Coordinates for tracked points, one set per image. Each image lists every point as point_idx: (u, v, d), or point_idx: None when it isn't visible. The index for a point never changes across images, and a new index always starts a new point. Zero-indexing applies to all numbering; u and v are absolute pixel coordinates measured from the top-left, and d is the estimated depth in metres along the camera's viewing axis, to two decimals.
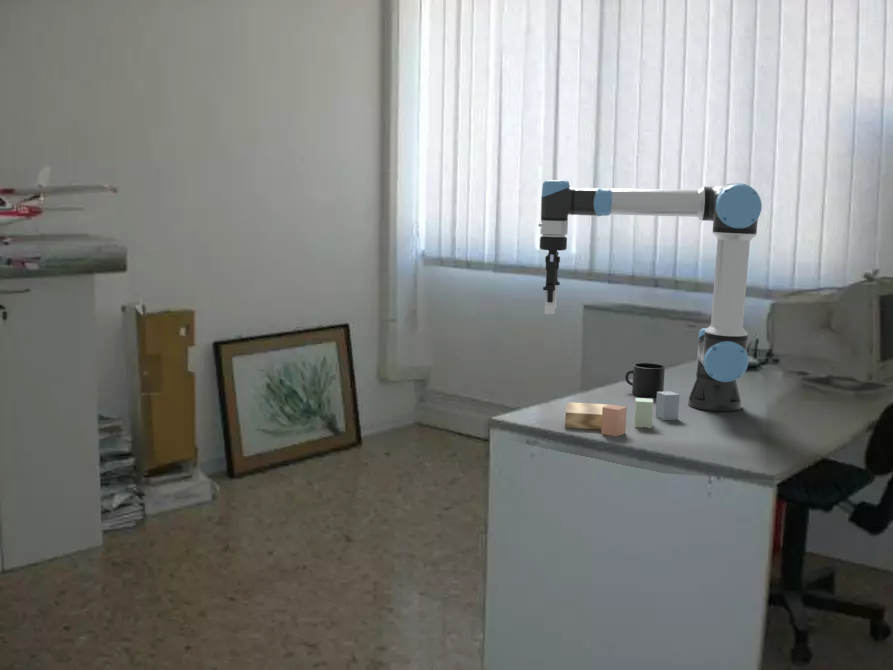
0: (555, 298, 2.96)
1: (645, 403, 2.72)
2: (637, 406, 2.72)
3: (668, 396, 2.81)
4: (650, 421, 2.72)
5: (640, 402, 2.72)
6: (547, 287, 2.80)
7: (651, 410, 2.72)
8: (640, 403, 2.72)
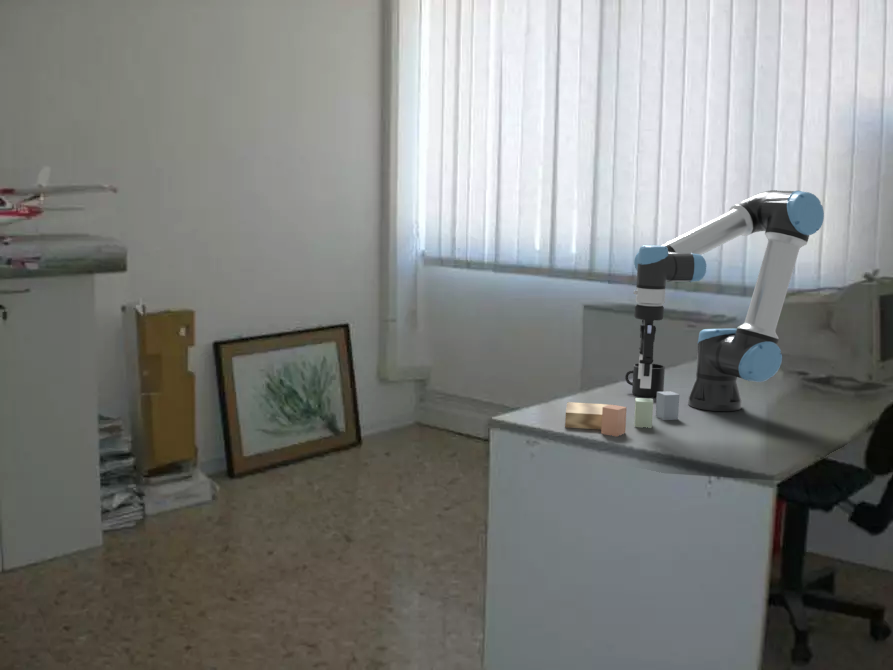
0: None
1: (645, 403, 2.72)
2: (637, 406, 2.72)
3: (668, 396, 2.81)
4: (650, 421, 2.72)
5: (640, 402, 2.72)
6: (645, 361, 2.62)
7: (651, 410, 2.72)
8: (640, 403, 2.72)
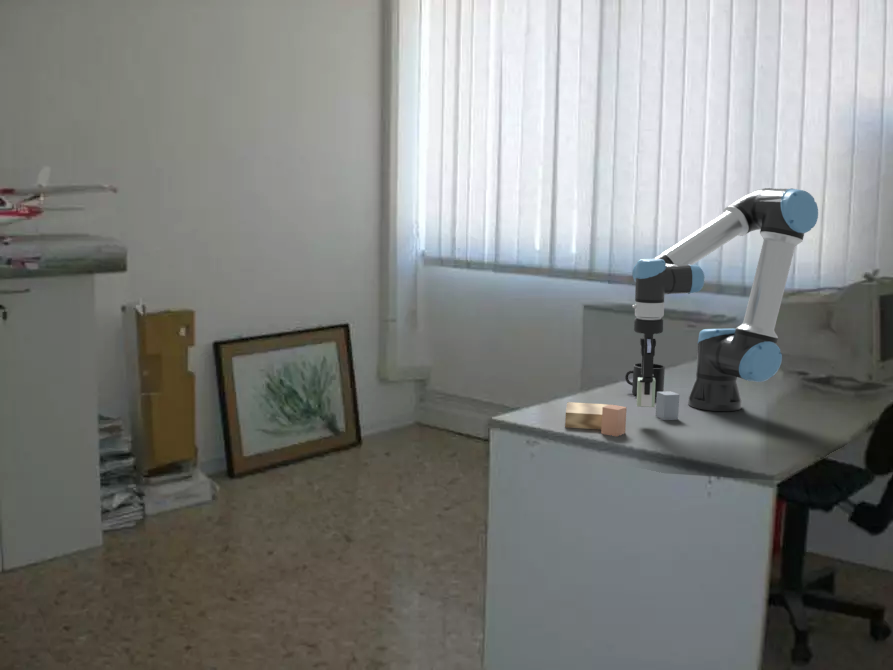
0: None
1: None
2: (639, 385, 2.72)
3: (668, 396, 2.81)
4: (653, 400, 2.72)
5: None
6: (645, 380, 2.68)
7: (653, 389, 2.71)
8: None
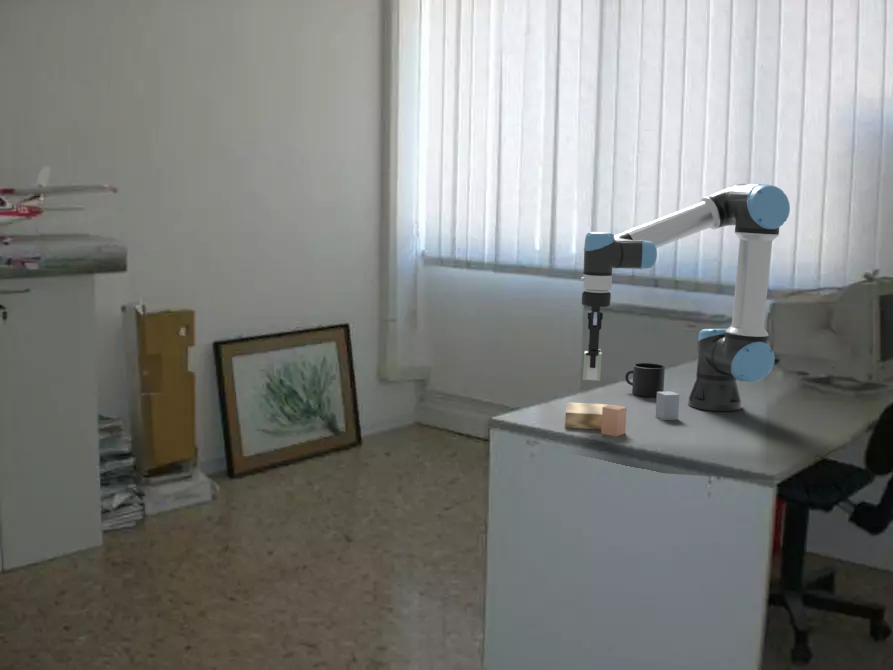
0: None
1: None
2: (585, 358, 2.71)
3: (668, 396, 2.81)
4: (598, 374, 2.71)
5: None
6: (590, 352, 2.67)
7: (599, 363, 2.71)
8: None
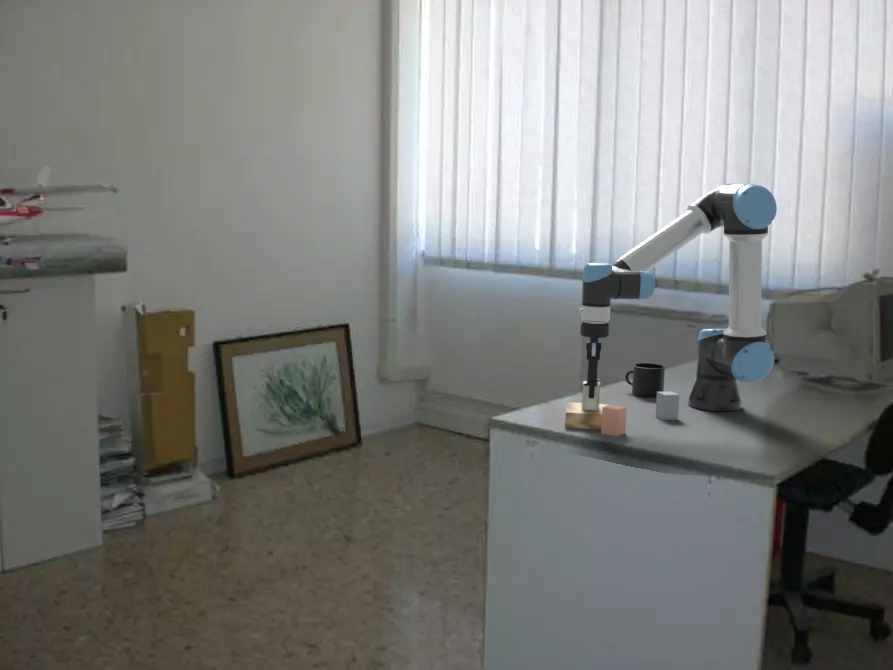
0: None
1: None
2: (584, 389, 2.73)
3: (668, 396, 2.81)
4: (597, 404, 2.73)
5: None
6: (589, 383, 2.69)
7: (598, 393, 2.72)
8: None
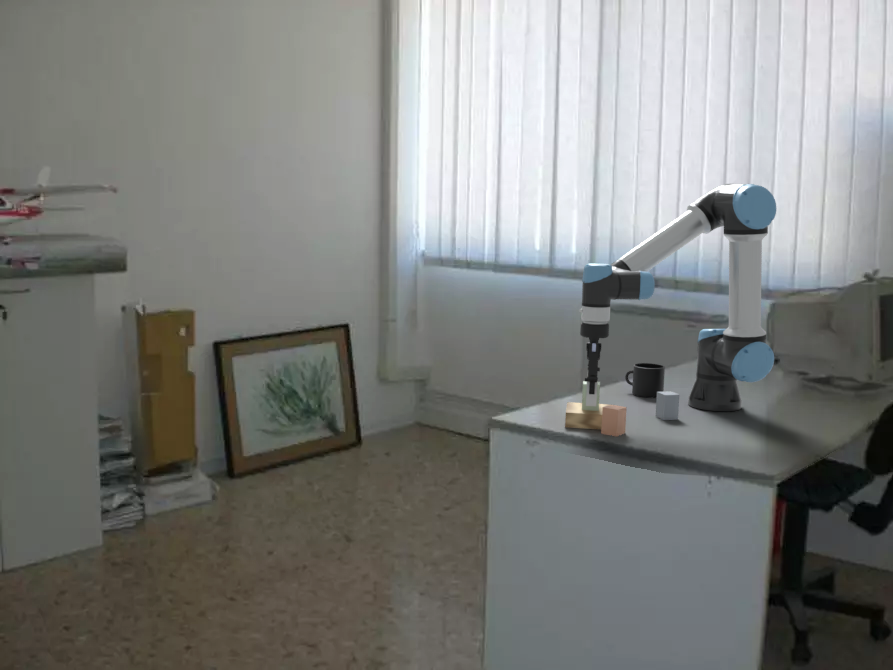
0: None
1: None
2: (584, 389, 2.73)
3: (668, 396, 2.81)
4: (597, 404, 2.73)
5: None
6: (589, 379, 2.64)
7: (598, 393, 2.72)
8: None
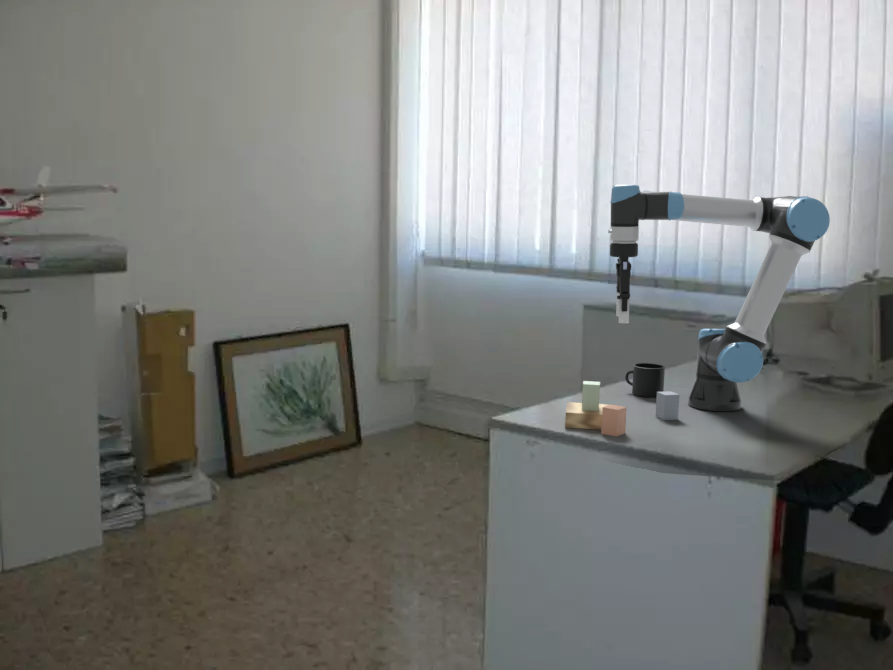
0: None
1: (592, 386, 2.72)
2: (584, 389, 2.73)
3: (668, 396, 2.81)
4: (597, 404, 2.73)
5: (587, 385, 2.72)
6: (622, 296, 2.71)
7: (598, 393, 2.72)
8: (587, 386, 2.72)
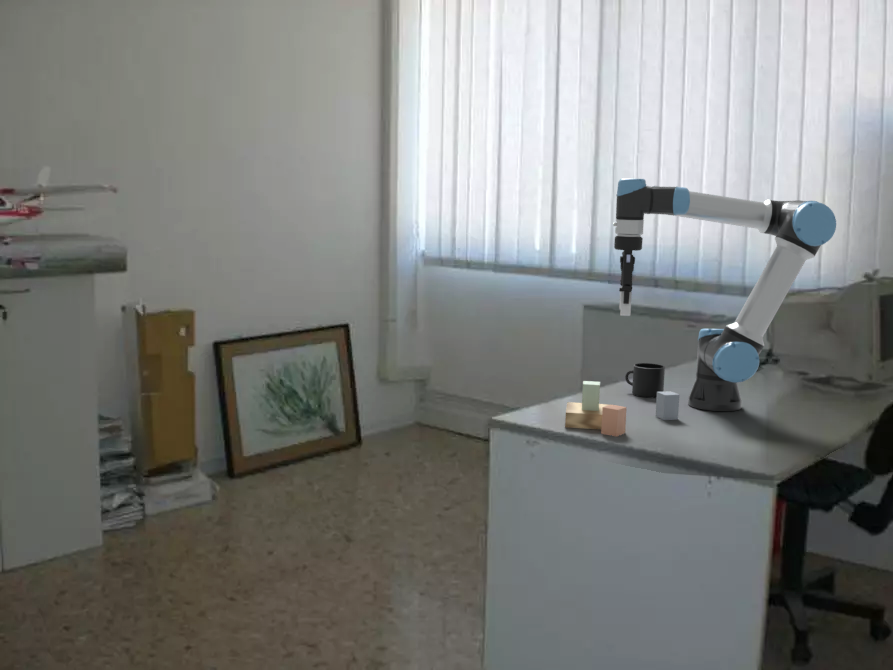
0: None
1: (592, 386, 2.72)
2: (584, 389, 2.73)
3: (668, 396, 2.81)
4: (597, 404, 2.73)
5: (587, 385, 2.72)
6: (624, 288, 2.72)
7: (598, 393, 2.72)
8: (587, 386, 2.72)
